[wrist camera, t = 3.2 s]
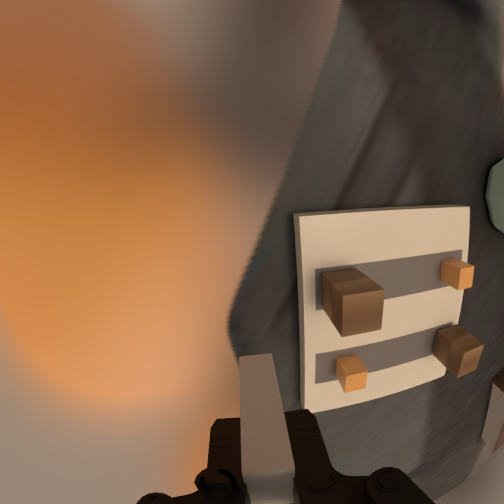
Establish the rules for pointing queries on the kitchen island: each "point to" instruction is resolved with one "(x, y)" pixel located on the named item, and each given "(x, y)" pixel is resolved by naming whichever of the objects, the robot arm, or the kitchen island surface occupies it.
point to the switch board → (395, 297)
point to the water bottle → (496, 195)
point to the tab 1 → (352, 302)
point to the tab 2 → (457, 350)
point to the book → (495, 414)
